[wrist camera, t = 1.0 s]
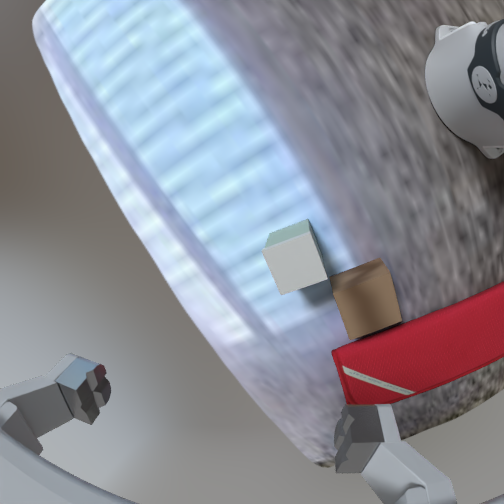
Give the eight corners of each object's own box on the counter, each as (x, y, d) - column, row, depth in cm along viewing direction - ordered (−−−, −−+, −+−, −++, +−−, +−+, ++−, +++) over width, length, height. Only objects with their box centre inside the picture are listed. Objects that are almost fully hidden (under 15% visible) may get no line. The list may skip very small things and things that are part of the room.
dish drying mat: (537, 329, 35) (546, 339, 31) (347, 406, 45) (349, 422, 42) (545, 255, 31) (557, 263, 27) (328, 338, 41) (330, 354, 38)
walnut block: (379, 257, 36) (389, 272, 31) (392, 301, 37) (402, 320, 33) (329, 276, 38) (333, 293, 33) (345, 319, 39) (349, 340, 35)
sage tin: (308, 217, 36) (310, 233, 29) (323, 256, 37) (327, 279, 30) (268, 232, 37) (261, 251, 30) (284, 269, 38) (280, 295, 32)
